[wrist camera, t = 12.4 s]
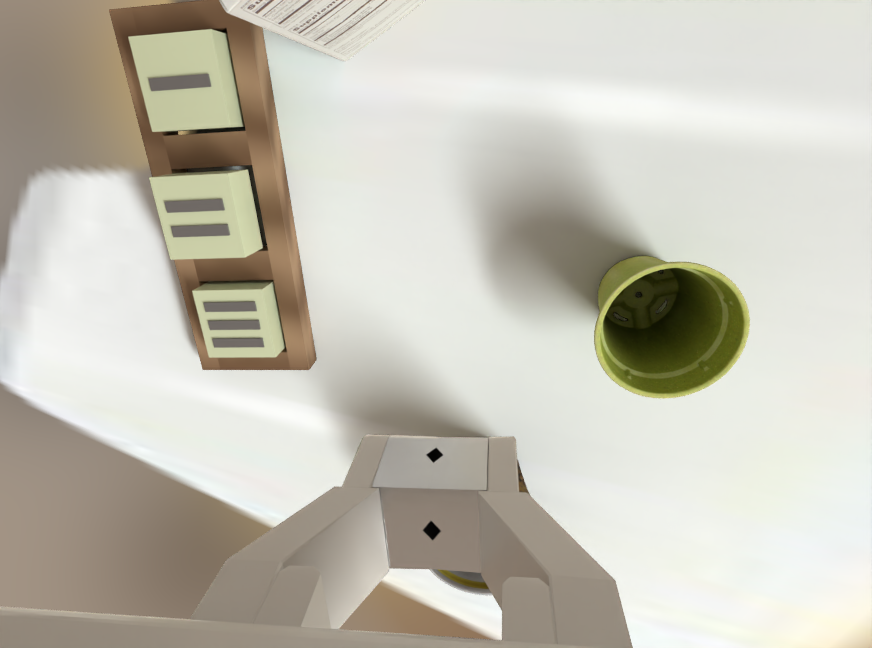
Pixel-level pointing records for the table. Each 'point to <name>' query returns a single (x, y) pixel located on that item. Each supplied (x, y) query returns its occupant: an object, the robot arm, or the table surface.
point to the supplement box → (325, 20)
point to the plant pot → (668, 326)
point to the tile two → (207, 214)
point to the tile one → (187, 80)
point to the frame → (230, 150)
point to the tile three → (240, 318)
